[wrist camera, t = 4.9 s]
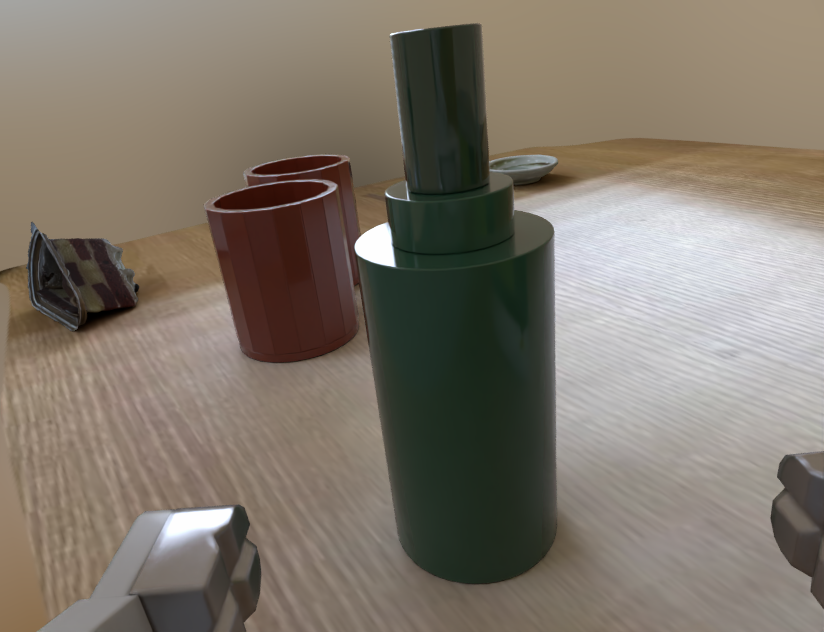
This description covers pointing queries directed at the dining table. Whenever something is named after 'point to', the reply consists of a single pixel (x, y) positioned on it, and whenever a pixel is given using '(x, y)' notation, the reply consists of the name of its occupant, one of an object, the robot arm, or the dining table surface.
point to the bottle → (461, 329)
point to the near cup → (285, 268)
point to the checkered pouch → (77, 278)
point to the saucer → (524, 167)
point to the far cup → (321, 169)
